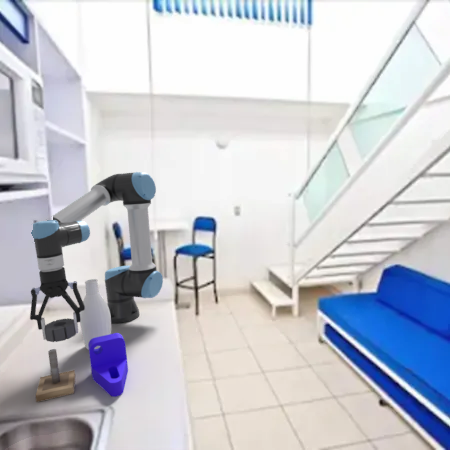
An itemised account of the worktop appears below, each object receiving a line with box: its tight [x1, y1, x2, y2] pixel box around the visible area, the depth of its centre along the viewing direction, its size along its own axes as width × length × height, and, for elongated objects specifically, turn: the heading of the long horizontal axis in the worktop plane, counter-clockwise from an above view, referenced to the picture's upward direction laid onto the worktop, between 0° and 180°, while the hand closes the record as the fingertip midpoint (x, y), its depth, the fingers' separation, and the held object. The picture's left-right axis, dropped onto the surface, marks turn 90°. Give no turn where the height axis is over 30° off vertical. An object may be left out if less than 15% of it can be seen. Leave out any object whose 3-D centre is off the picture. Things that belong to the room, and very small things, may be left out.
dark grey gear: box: [44, 317, 77, 343], centre depth 124 cm, size 9×9×4 cm
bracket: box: [88, 332, 129, 398], centre depth 115 cm, size 18×11×12 cm, turn 25°
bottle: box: [79, 278, 112, 351], centre depth 141 cm, size 11×11×25 cm
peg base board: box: [35, 348, 76, 403], centre depth 113 cm, size 11×10×12 cm
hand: (61, 334), depth 124 cm, fingers closed on dark grey gear, 9 cm apart
